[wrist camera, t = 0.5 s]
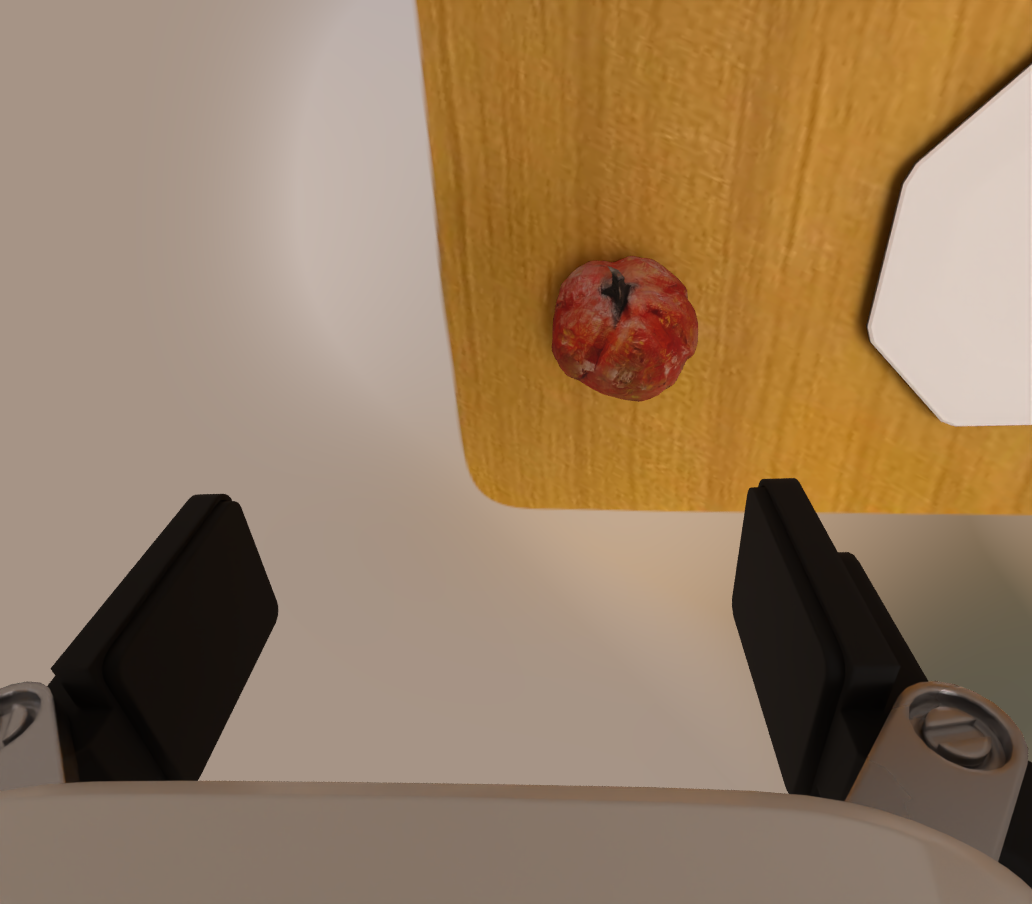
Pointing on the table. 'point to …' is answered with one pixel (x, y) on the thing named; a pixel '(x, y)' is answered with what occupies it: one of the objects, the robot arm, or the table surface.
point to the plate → (965, 269)
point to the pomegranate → (624, 327)
